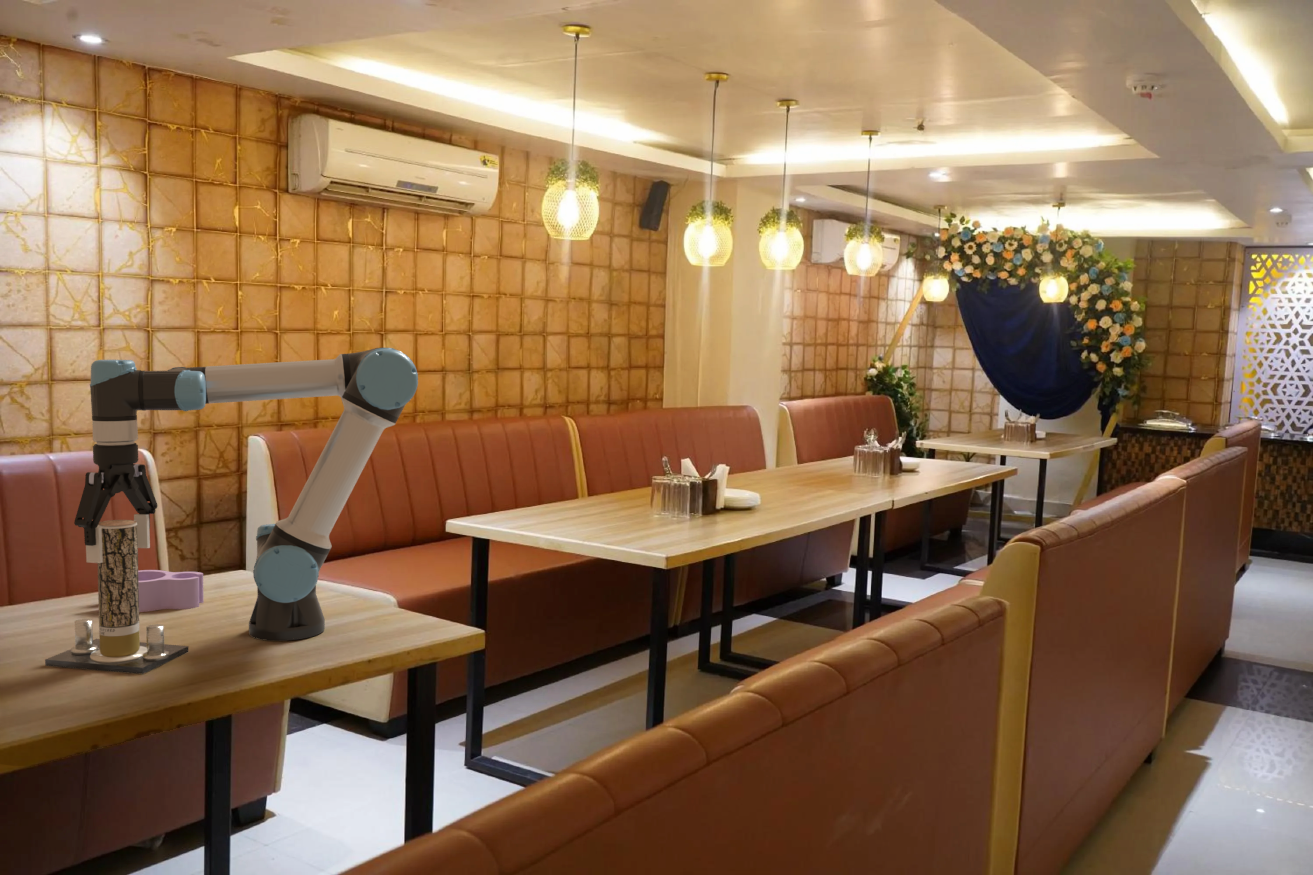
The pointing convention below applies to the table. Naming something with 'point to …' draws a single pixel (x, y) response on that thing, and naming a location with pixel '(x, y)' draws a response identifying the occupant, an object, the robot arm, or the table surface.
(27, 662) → the table surface
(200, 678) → the table surface
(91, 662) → the plate
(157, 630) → the collar post
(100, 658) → the white dome cap
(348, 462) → the robot arm
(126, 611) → the paper tube
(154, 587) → the clip
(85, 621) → the collar post
